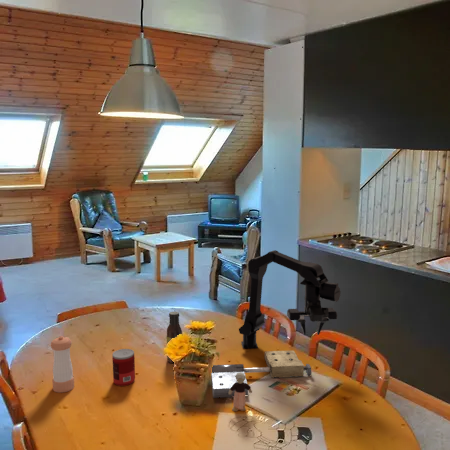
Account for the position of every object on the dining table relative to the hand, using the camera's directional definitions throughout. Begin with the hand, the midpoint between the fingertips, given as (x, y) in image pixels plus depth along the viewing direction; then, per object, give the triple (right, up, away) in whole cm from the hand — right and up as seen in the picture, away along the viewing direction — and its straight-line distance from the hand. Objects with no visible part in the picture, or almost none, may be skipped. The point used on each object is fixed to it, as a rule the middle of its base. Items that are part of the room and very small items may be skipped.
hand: (311, 334), depth 185 cm
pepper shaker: (-92, -15, -17) cm, 95 cm away
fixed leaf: (-20, -15, -14) cm, 29 cm away
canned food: (-71, -14, -13) cm, 74 cm away
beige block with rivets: (-11, -12, -2) cm, 17 cm away
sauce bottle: (-54, -12, +5) cm, 56 cm away
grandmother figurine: (-29, -17, -31) cm, 46 cm away
